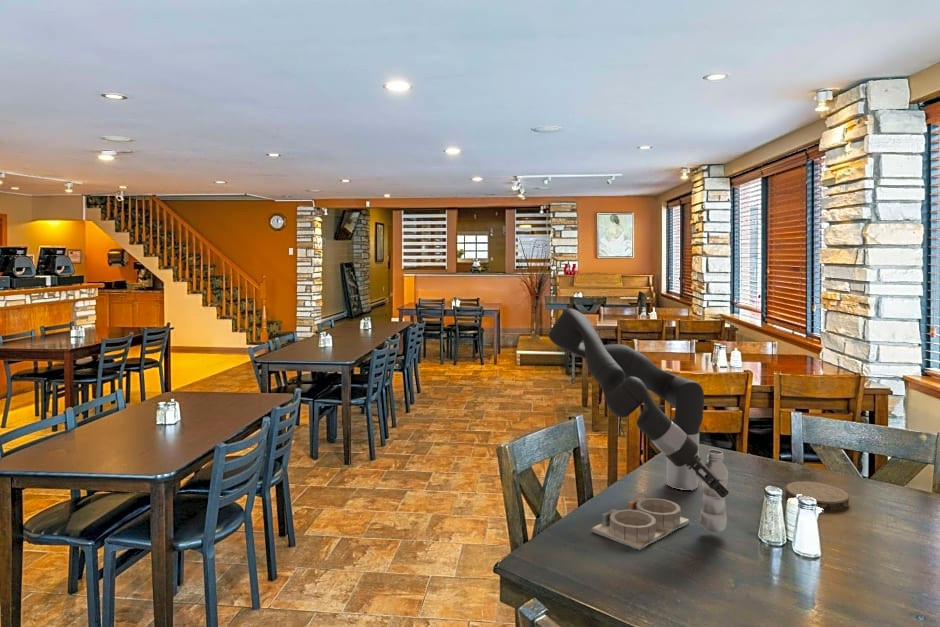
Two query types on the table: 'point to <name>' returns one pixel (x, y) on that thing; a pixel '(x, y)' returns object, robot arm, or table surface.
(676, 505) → the bottle stand
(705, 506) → the plastic bottle
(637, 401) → the robot arm
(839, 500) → the brown round disc
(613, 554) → the table surface
